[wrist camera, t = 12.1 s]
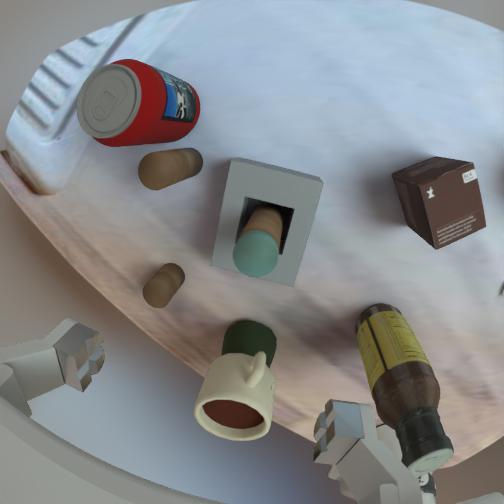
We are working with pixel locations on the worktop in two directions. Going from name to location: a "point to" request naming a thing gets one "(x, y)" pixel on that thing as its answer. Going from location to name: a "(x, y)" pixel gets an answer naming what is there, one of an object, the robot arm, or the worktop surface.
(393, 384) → the sauce bottle
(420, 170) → the box
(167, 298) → the short pin
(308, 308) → the worktop surface
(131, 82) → the beverage can
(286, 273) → the socket block
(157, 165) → the medium pin
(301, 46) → the worktop surface
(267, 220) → the long pin
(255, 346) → the character mug
